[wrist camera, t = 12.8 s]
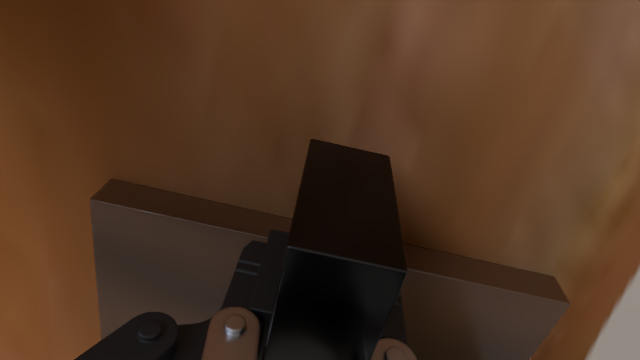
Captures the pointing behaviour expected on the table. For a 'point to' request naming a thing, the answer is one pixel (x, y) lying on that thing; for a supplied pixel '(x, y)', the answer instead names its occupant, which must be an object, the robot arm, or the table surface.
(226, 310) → the robot arm
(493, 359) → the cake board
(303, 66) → the table surface
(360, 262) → the knife
